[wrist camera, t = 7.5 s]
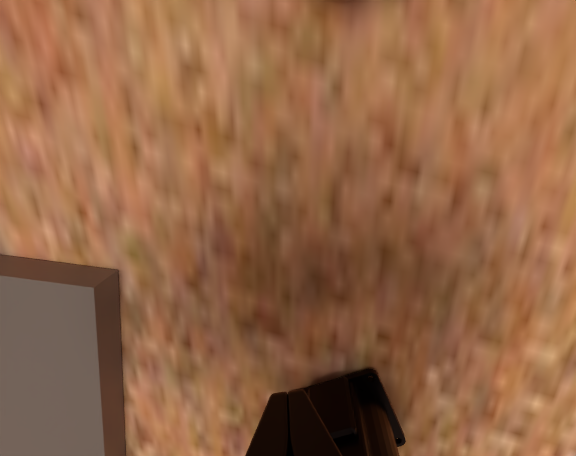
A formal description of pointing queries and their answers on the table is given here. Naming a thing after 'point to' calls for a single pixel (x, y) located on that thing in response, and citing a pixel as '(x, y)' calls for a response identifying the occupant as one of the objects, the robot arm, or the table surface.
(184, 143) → the table surface
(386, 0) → the table surface
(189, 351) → the table surface
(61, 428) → the switch panel
